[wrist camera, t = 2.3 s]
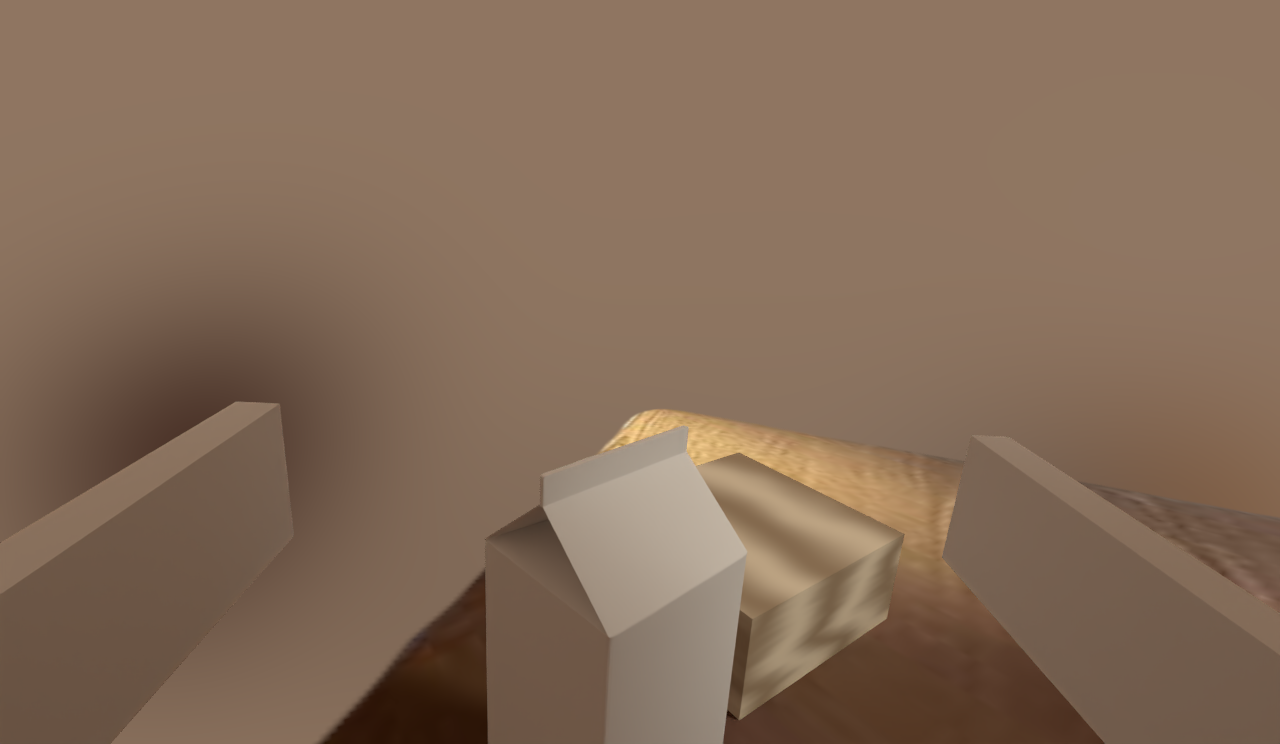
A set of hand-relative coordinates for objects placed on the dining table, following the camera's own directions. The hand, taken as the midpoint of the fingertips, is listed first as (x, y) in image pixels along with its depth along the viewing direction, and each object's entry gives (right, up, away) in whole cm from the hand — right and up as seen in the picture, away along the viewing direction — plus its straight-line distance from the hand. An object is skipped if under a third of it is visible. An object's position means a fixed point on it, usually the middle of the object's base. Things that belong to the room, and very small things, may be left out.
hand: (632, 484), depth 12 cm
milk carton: (-2, -19, +16) cm, 25 cm away
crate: (+7, -14, +33) cm, 36 cm away
